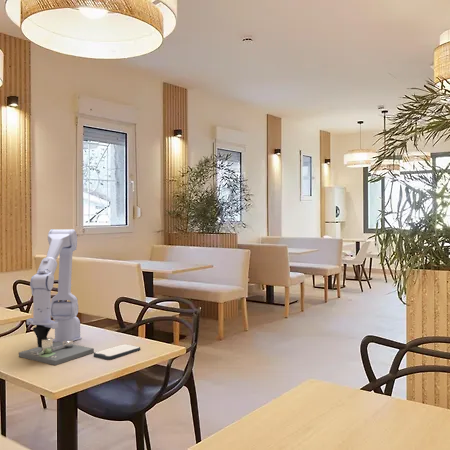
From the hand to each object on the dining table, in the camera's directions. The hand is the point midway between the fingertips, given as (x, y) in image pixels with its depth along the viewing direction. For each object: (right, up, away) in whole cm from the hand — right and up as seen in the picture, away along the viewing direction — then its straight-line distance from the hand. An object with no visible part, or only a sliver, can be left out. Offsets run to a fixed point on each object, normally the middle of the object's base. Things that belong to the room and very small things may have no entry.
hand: (42, 346), depth 171 cm
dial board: (+4, -3, +2) cm, 6 cm away
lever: (+4, -1, +2) cm, 5 cm away
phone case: (+26, -4, +4) cm, 26 cm away
